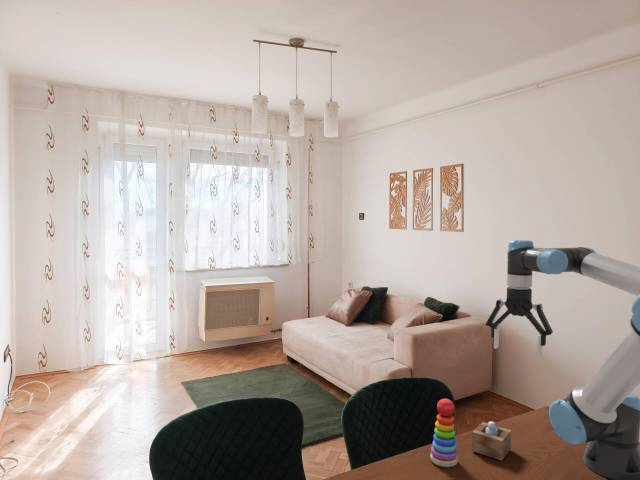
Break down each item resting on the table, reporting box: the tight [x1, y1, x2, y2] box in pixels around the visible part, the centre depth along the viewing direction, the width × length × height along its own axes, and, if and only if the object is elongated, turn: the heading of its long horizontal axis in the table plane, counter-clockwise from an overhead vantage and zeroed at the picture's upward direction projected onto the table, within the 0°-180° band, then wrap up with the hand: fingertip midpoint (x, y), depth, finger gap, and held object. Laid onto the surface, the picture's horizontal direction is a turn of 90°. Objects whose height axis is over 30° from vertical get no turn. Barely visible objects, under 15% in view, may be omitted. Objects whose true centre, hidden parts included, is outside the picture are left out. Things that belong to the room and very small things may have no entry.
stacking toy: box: [429, 398, 459, 468], centre depth 137 cm, size 8×8×19 cm
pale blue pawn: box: [486, 421, 498, 437], centre depth 144 cm, size 7×7×9 cm
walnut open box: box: [471, 421, 512, 462], centre depth 144 cm, size 9×9×6 cm
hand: (517, 351), depth 152 cm, fingers open, 13 cm apart
